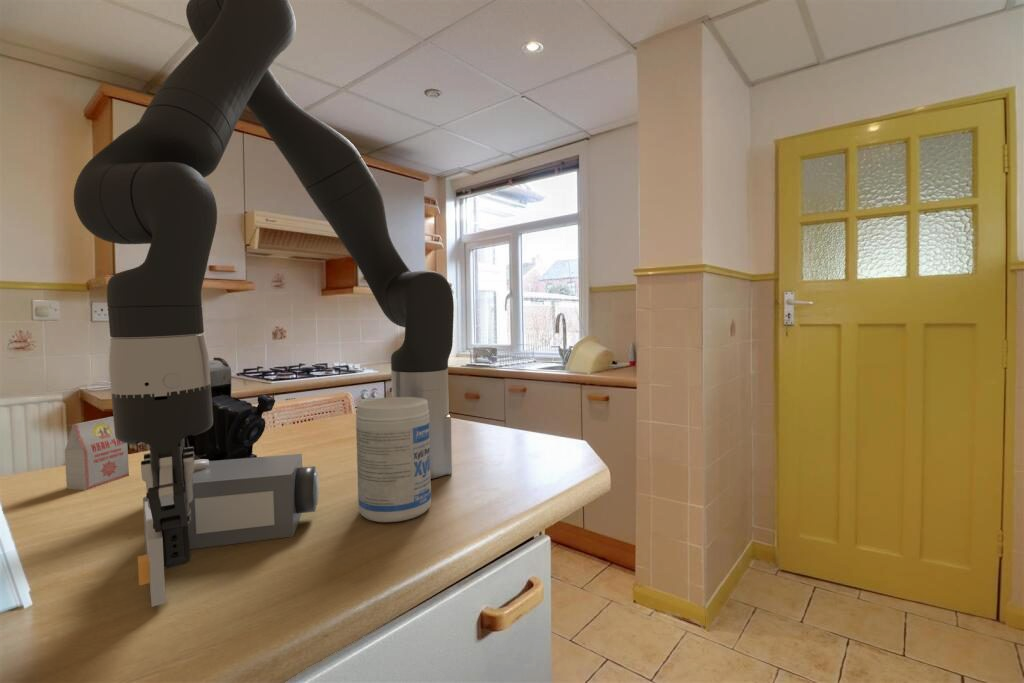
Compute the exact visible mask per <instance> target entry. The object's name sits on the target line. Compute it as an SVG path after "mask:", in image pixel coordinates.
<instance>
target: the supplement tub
mask: <svg viewBox="0 0 1024 683" xmlns="http://www.w3.org/2000/svg"><path fill="white" fill-rule="evenodd" d="M355 417H356V418H355V427H356V429H355V431H356V432H355V433H356V434H355V435H356V459H357V460H356V465H357V496H358V497H357V498H358V499H357V500H358V511H359V513H360V515H361V516H362V517H364V518H365V519H367V520H369V521H371V522H378V523H396V522H397V523H398V522H403V521H408V520H411V519H414V518H417V517H419V516H421V515H423V514H424V513H425V512H427V511H428V509H429V508H430V506H431V504H432V486H431V484H432V481H431V476H430V426H429V410H428V401H427V400H426V399H423V398H416V397H392V396H389V397H388V396H387V397H377V398H371V399H367V400H363V401H359V402H358V403H357V404H356V414H355Z"/></svg>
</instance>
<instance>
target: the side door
mask: <svg viewBox="0 0 1024 683" xmlns="http://www.w3.org/2000/svg"><path fill="white" fill-rule="evenodd" d="M142 505H143V525H144V528H143V529H144V542H145V543H144V546H145V554H143V555H140V556H137V571H138V572H137V573H138V586H143V585H147V584H149V591H150V602H151V603H150V604H151V607H152V608H153V607H156V606H160V605H163V604H166V585H165V584H166V582H165V567H164V559H163V538H162V532H155V529H153V519H152V514H151V510H150V509H149V508H148V500H147V497H146V496H143V497H142Z"/></svg>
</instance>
